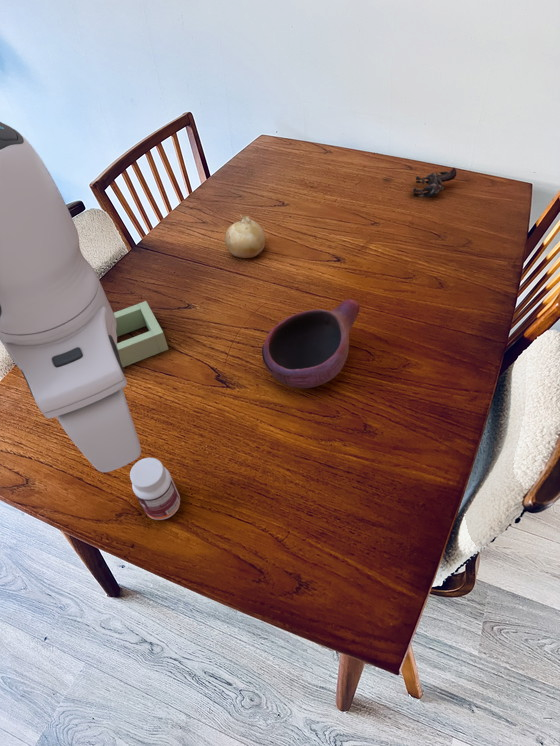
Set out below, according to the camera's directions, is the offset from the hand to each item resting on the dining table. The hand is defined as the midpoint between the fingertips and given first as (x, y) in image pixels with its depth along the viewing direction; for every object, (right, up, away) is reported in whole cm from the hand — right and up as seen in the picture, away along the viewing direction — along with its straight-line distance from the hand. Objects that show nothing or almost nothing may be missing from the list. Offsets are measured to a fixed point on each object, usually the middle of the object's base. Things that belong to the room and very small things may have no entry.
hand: (111, 419), depth 53 cm
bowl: (+22, +6, +30) cm, 38 cm away
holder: (-11, +8, +34) cm, 37 cm away
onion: (+11, +29, +50) cm, 59 cm away
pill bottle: (+2, -13, +15) cm, 20 cm away
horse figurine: (+48, +45, +61) cm, 90 cm away
